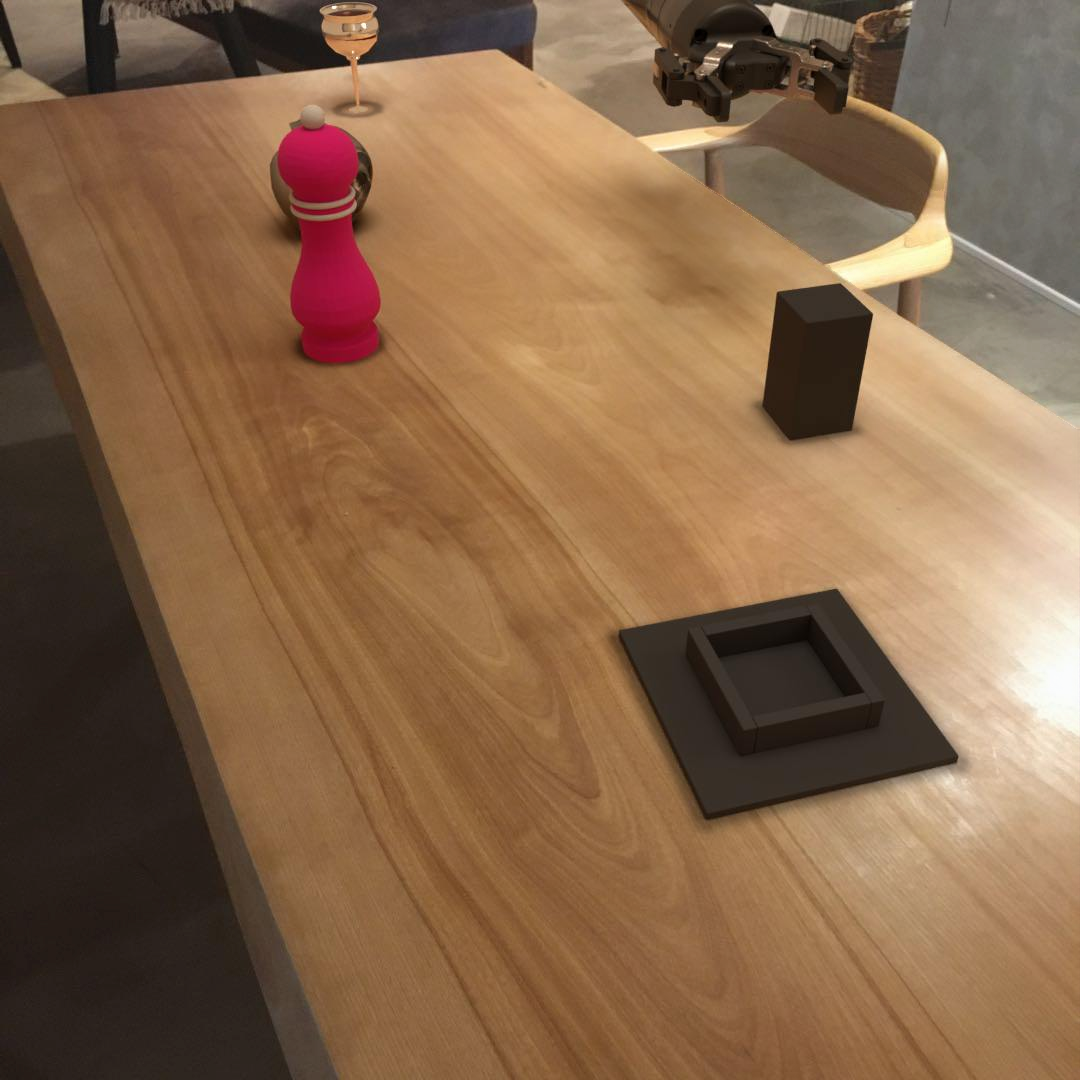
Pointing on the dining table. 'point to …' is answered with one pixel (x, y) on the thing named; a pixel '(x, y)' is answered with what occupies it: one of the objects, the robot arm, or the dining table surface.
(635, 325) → the dining table surface
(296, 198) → the pepper mill
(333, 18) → the wineglass
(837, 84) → the robot arm
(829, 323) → the pad block
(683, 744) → the base pad
